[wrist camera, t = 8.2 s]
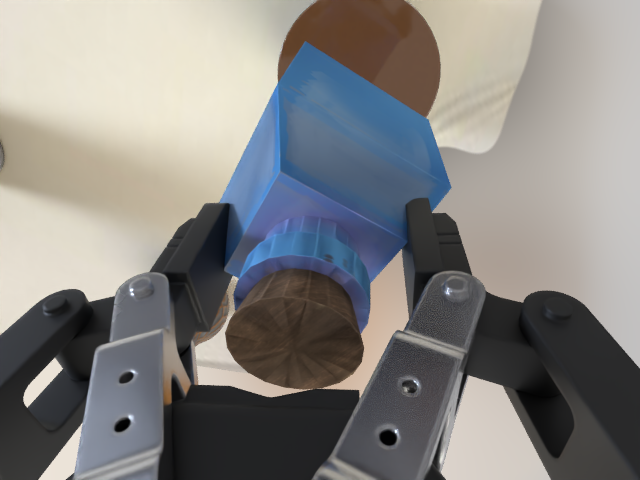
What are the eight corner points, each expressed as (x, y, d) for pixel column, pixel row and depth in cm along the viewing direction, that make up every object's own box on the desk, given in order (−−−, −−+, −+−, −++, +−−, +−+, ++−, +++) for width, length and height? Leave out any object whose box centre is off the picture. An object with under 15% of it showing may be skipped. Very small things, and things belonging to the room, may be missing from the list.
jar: (274, 55, 35) (246, 89, 27) (356, -59, 30) (352, -60, 22) (362, 132, 39) (361, 183, 30) (449, 41, 33) (476, 73, 25)
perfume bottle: (352, 218, 21) (339, 447, 12) (245, 160, 20) (129, 364, 10) (428, 119, 18) (498, 326, 8) (305, 41, 16) (215, 178, 7)
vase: (202, 260, 50) (176, 313, 43) (245, 292, 53) (226, 346, 46) (172, 287, 53) (142, 339, 46) (214, 316, 56) (191, 369, 49)
